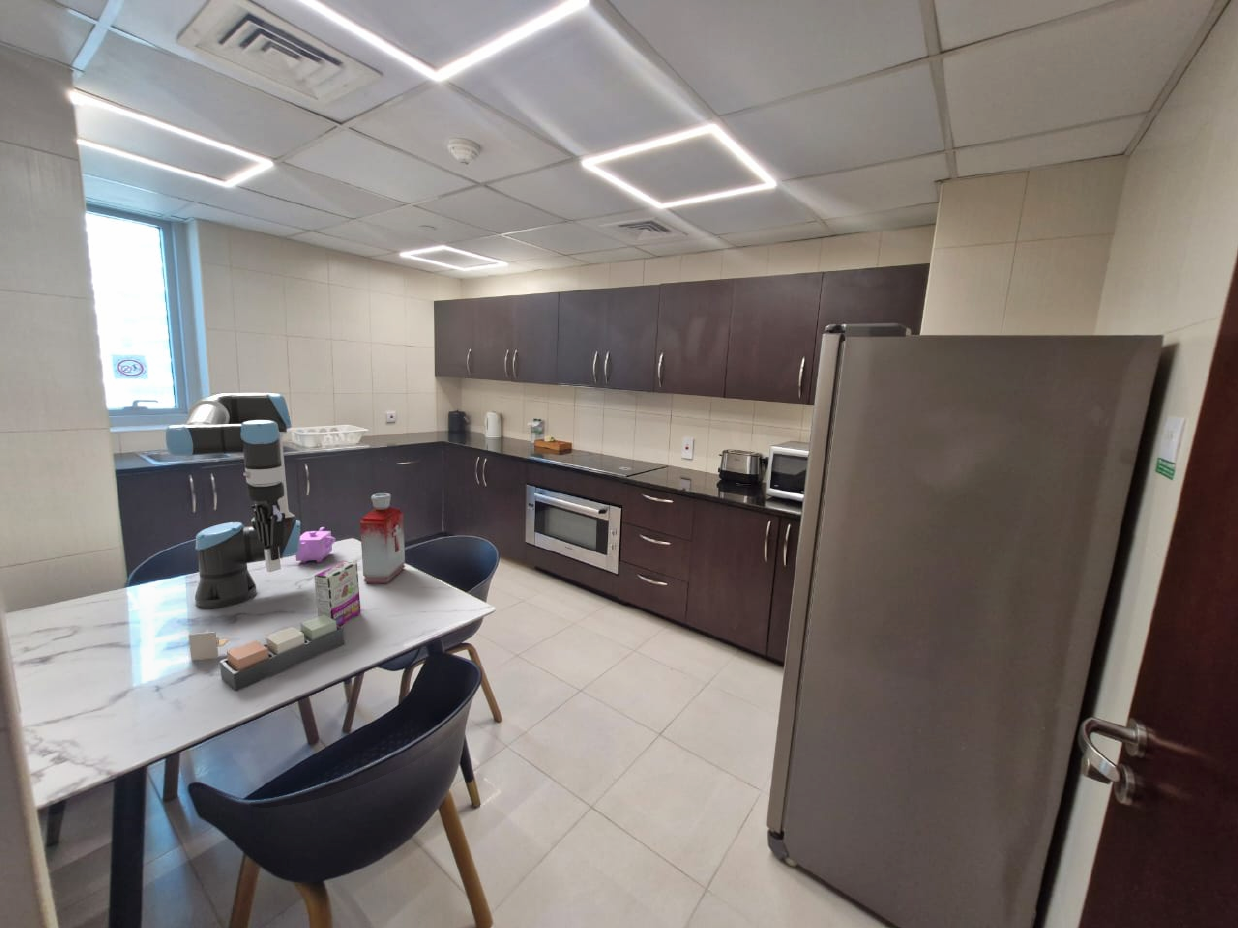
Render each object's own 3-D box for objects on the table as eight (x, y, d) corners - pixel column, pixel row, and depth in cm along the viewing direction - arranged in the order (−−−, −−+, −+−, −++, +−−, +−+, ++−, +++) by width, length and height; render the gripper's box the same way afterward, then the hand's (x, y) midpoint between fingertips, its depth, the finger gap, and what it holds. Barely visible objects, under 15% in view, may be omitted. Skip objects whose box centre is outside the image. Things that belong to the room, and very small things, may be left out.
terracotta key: (229, 670, 115) (226, 651, 114) (258, 658, 120) (256, 640, 119) (240, 679, 112) (237, 659, 111) (269, 667, 117) (267, 648, 116)
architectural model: (198, 654, 125) (195, 628, 123) (230, 651, 127) (227, 625, 125) (191, 662, 122) (187, 635, 120) (224, 658, 124) (220, 631, 122)
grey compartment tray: (221, 678, 115) (219, 661, 114) (329, 634, 135) (328, 619, 135) (236, 691, 111) (233, 673, 110) (344, 643, 131) (343, 628, 130)
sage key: (302, 640, 129) (300, 623, 128) (325, 631, 134) (324, 614, 133) (313, 648, 125) (312, 630, 124) (337, 638, 130) (336, 621, 129)
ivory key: (267, 654, 122) (265, 636, 121) (293, 644, 127) (292, 626, 126) (278, 663, 119) (277, 644, 118) (305, 651, 124) (303, 633, 123)
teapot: (287, 558, 186) (284, 531, 184) (325, 549, 197) (323, 523, 195) (303, 569, 177) (300, 540, 175) (341, 559, 188) (340, 532, 186)
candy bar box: (346, 610, 149) (343, 560, 146) (361, 613, 148) (358, 562, 145) (317, 629, 138) (313, 574, 135) (332, 631, 137) (328, 577, 134)
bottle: (389, 584, 167) (385, 500, 162) (360, 583, 167) (354, 499, 162) (408, 568, 181) (405, 490, 176) (381, 567, 182) (376, 489, 176)
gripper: (236, 480, 122) (245, 567, 127) (259, 490, 115) (269, 582, 120) (269, 475, 128) (277, 558, 133) (294, 484, 121) (301, 572, 126)
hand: (273, 569), depth 127 cm, fingers closed
